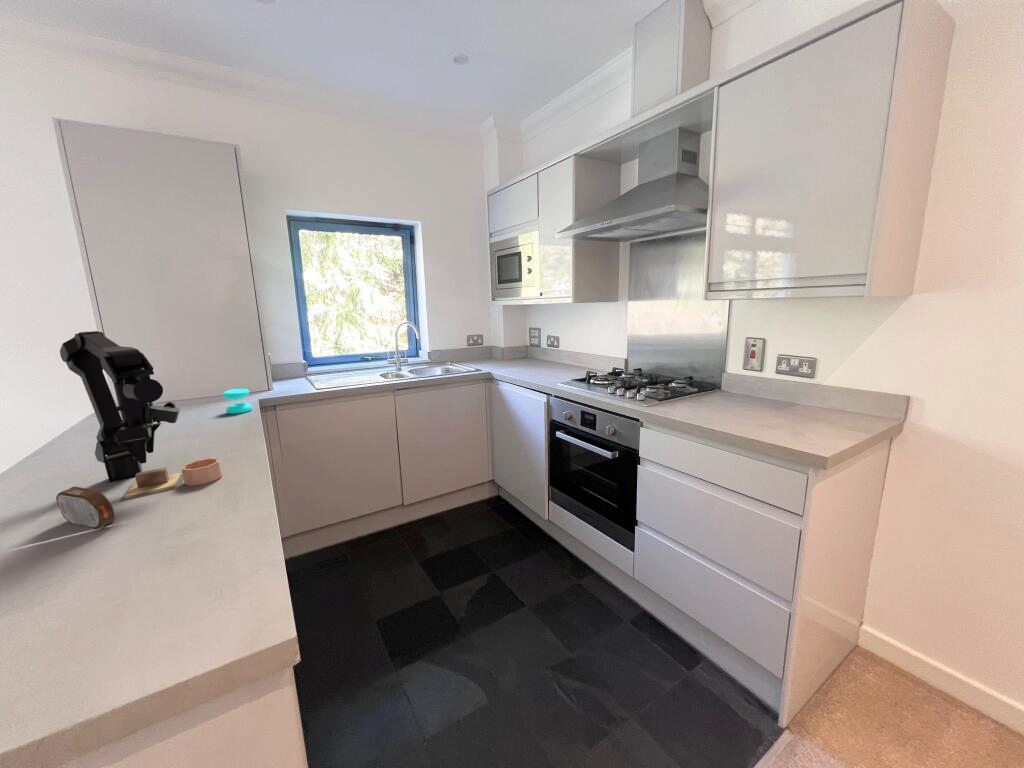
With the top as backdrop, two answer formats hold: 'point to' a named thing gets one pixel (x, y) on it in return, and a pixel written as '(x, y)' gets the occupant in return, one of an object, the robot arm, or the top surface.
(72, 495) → the tin
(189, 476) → the bowl
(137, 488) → the lid
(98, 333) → the robot arm
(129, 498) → the mat
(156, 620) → the top surface
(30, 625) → the top surface
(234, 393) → the pair of cyan discs
